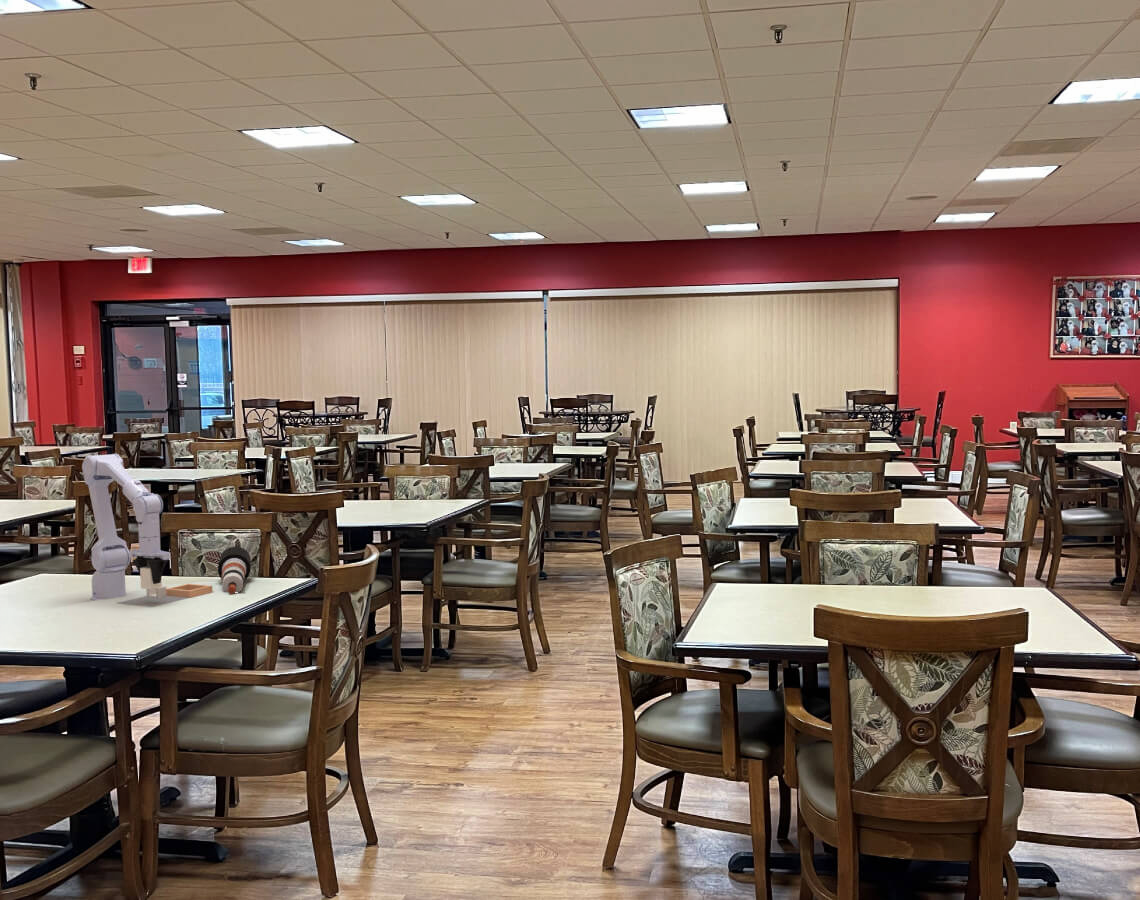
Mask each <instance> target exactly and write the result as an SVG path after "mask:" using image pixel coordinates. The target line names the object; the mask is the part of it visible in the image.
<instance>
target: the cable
mask: <svg viewBox="0 0 1140 900" xmlns="http://www.w3.org/2000/svg"><path fill="white" fill-rule="evenodd" d="M251 564H252V560H251V555H250V553H249V552H248V551H247V550H246V549H245V548H243V547H240V546H231V547H228V548H226V549H225V550H224V551H223V552H221V554H220V556H219V560H218V566H217V567H218V568H217V573H218V576H219V578H220V579H221V585H222V586H221V589H222V590H223V592H224V593H228V594H230V595H232V594H236V593H235V592H239V593H240V592H241V591H242V589H243V585H244V583H245V581H246V580H247V578H249V576H250V573H251V567H252V565H251Z"/></svg>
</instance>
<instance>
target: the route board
mask: <svg viewBox="0 0 1140 900" xmlns="http://www.w3.org/2000/svg"><path fill="white" fill-rule="evenodd" d="M208 594H209V593H207V594H206V595H208ZM204 595H205V594H203V595H202V596H204ZM199 596H201V595H199ZM199 596H198V597H199ZM196 597H197V596H195V597H194V598H196ZM191 598H193V597H191ZM191 598H190V599H191ZM187 599H189V598H187V597H177V596H166V597H162V598H151V597H147V595H146V596H145V595H144V596H140V597H136V598H132V599H127V600H123V601H119V602H116V604H120V605H130V606H137V607H147V608H154V607H159V606H162V605H166V604H170V603H174V602H180V601H182V600H187Z"/></svg>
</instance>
